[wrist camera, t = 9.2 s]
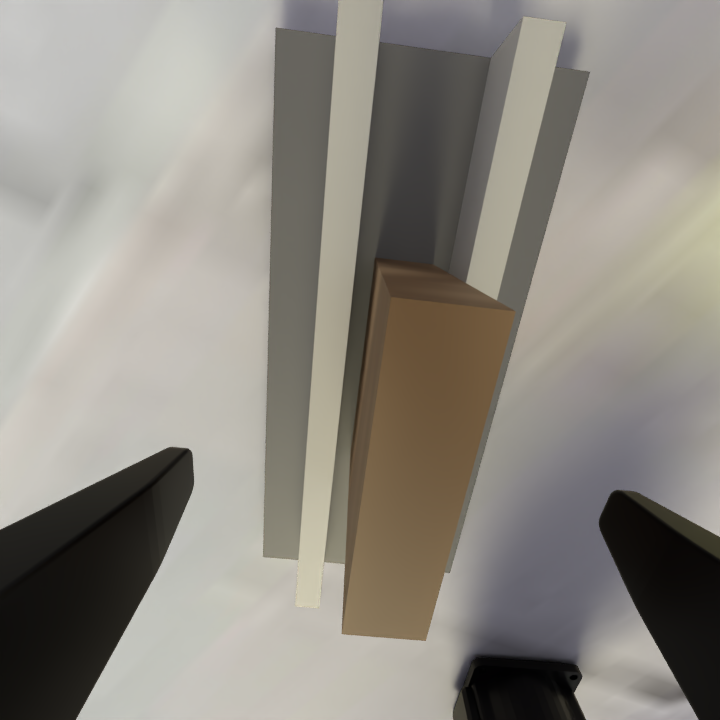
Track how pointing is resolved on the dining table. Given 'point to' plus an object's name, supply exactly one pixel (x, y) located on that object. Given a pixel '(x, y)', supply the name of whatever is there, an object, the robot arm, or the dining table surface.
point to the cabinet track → (390, 229)
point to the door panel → (415, 440)
